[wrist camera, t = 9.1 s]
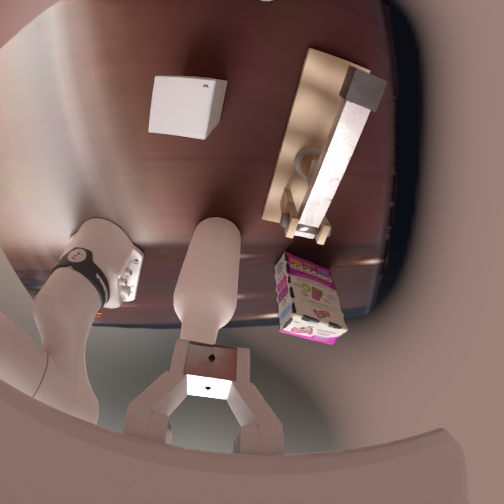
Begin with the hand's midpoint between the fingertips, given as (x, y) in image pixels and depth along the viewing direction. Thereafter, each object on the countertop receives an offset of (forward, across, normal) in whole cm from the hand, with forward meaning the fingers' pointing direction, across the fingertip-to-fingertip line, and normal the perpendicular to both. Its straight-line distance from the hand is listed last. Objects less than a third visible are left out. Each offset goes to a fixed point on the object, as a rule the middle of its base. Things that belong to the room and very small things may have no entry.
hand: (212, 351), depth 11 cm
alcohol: (+37, +2, +18) cm, 41 cm away
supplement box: (+37, +8, -6) cm, 39 cm away
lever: (+29, -11, -4) cm, 31 cm away
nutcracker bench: (+37, -11, -2) cm, 39 cm away
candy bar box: (+37, -16, +23) cm, 47 cm away
